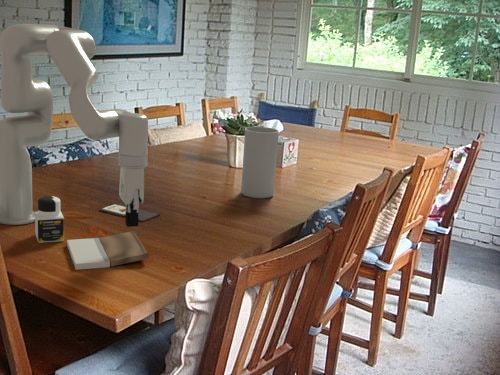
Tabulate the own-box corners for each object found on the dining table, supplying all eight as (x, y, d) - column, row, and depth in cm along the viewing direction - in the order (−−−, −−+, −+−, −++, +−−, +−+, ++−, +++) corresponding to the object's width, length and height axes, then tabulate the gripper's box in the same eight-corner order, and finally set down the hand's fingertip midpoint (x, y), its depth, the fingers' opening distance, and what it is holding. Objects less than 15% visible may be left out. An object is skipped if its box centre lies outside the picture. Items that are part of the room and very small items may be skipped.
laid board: (75, 269, 163) (75, 263, 163) (67, 245, 179) (67, 239, 179) (109, 267, 166) (109, 260, 166) (98, 243, 182) (98, 237, 182)
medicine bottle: (37, 243, 179) (37, 202, 176) (35, 234, 186) (34, 195, 182) (64, 241, 182) (64, 200, 179) (60, 233, 188) (60, 193, 185)
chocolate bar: (143, 220, 203) (99, 209, 211) (143, 223, 203) (99, 212, 211) (160, 214, 211) (117, 203, 219) (160, 216, 211) (117, 206, 219)
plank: (111, 266, 167) (110, 261, 166) (99, 242, 183) (98, 237, 182) (148, 258, 170) (148, 252, 169) (134, 235, 186) (133, 230, 185)
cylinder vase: (236, 190, 248) (240, 126, 241) (267, 189, 252) (272, 126, 245) (246, 199, 236) (251, 132, 230) (278, 198, 240) (283, 133, 234)
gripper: (113, 154, 176) (112, 218, 180) (124, 167, 162) (123, 235, 167) (140, 153, 179) (139, 216, 183) (153, 166, 165) (151, 233, 170)
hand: (131, 225), depth 175 cm, fingers closed
